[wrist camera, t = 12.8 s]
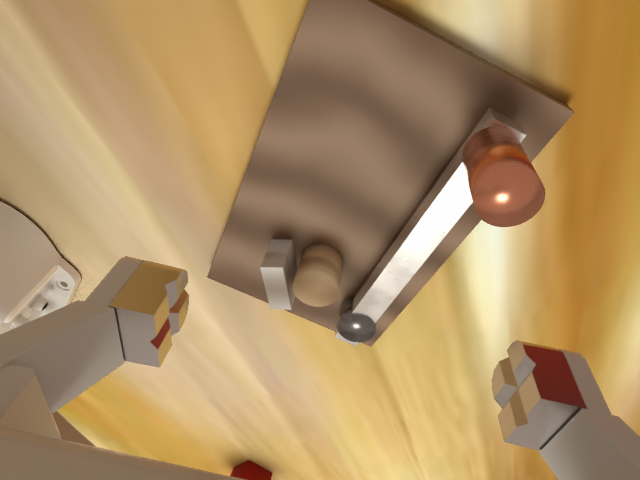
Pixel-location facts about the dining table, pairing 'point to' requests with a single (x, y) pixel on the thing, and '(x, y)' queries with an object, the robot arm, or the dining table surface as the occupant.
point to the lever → (451, 215)
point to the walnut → (318, 275)
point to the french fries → (251, 472)
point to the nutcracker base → (363, 151)
